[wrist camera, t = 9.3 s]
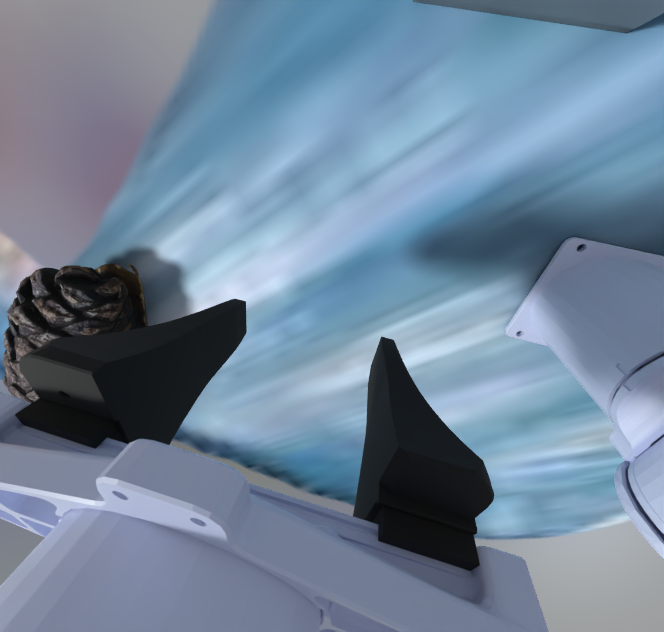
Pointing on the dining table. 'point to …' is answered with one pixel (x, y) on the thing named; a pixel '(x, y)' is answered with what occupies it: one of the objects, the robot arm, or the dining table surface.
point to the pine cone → (68, 312)
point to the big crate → (569, 11)
